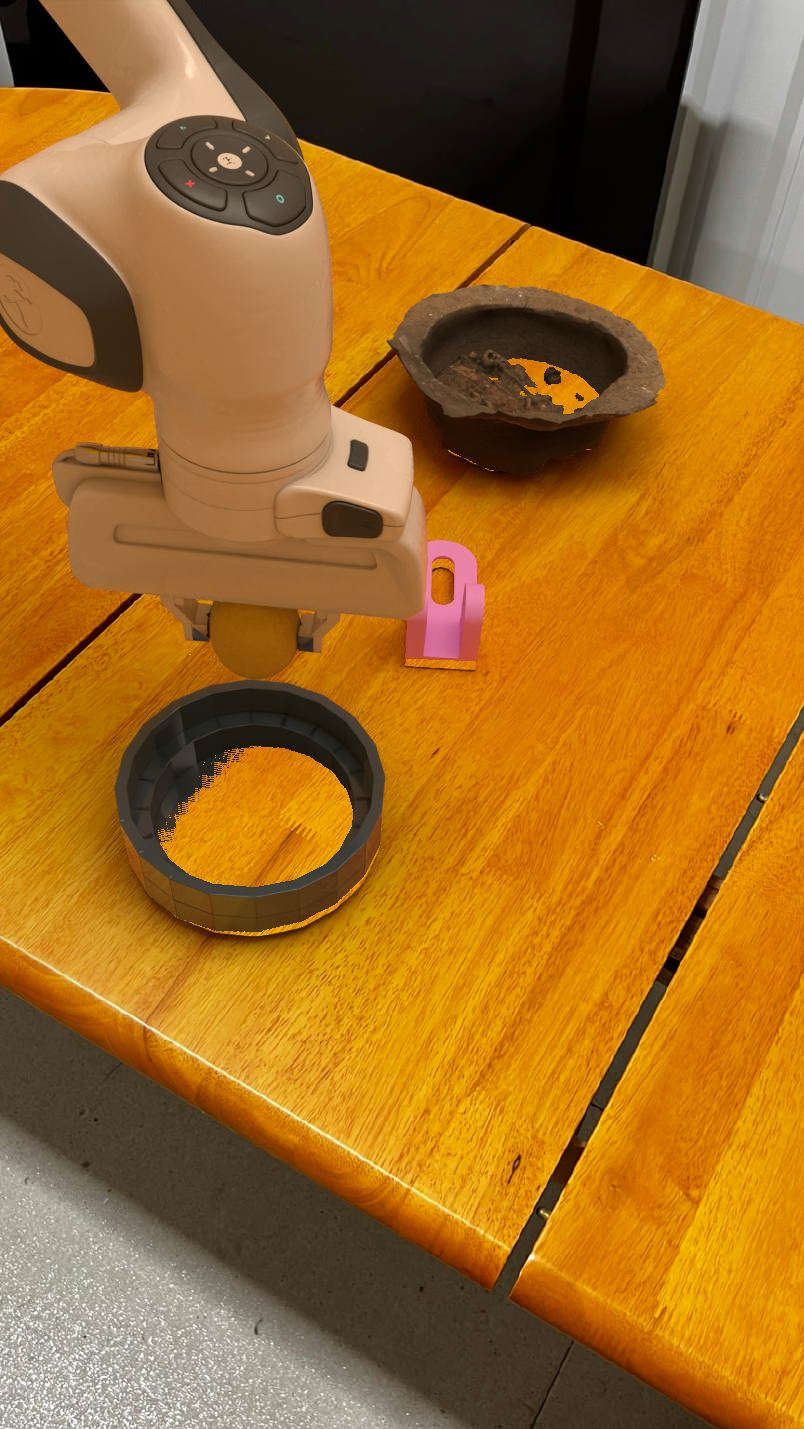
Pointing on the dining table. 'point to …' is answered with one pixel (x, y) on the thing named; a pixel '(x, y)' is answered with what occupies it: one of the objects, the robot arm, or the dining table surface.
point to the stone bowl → (522, 372)
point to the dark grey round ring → (194, 734)
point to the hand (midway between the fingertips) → (256, 639)
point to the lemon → (254, 638)
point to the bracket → (449, 611)
